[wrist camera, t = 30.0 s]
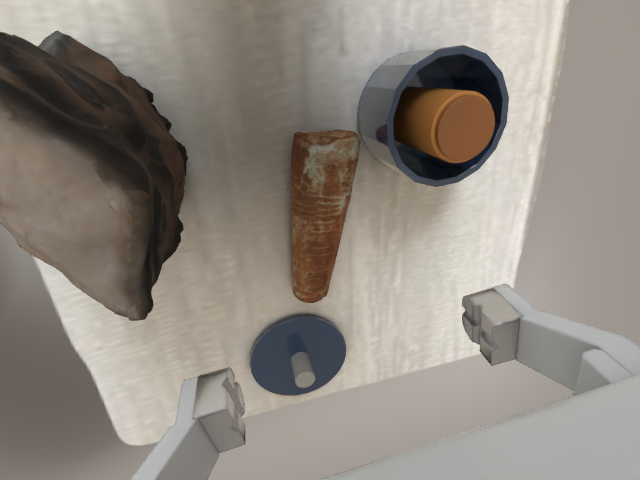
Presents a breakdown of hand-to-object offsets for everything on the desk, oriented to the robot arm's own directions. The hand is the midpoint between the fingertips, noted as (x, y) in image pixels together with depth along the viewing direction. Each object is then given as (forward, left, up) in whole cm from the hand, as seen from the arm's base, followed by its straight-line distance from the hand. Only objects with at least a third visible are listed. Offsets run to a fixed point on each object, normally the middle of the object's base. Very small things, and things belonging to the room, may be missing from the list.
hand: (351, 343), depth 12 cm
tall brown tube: (-2, +15, -27) cm, 31 cm away
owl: (-5, -13, -27) cm, 31 cm away
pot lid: (+24, -1, -27) cm, 36 cm away
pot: (-3, +15, -27) cm, 31 cm away
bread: (+6, +4, -27) cm, 28 cm away
